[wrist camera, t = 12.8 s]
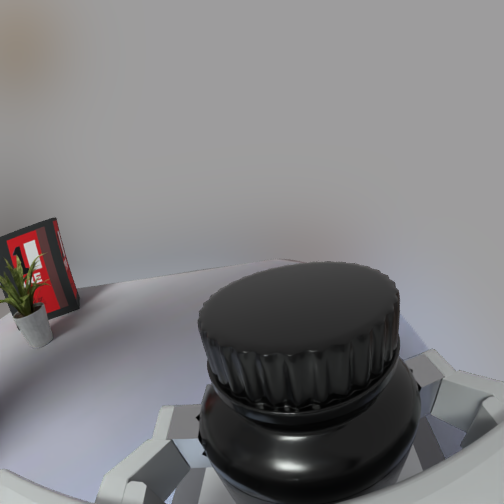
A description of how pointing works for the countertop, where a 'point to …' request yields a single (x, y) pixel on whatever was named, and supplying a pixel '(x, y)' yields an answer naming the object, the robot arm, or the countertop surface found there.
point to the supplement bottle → (306, 385)
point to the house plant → (27, 305)
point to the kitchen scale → (219, 500)
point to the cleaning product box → (41, 266)
